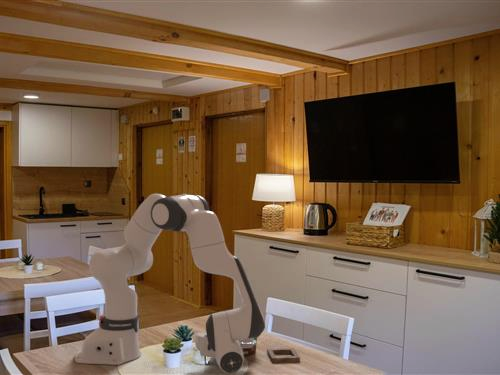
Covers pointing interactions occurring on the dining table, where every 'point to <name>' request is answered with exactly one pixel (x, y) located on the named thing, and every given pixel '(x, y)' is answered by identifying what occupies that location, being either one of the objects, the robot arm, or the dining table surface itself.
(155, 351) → the dining table surface
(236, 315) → the robot arm
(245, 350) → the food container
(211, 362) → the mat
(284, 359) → the board
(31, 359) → the dining table surface
